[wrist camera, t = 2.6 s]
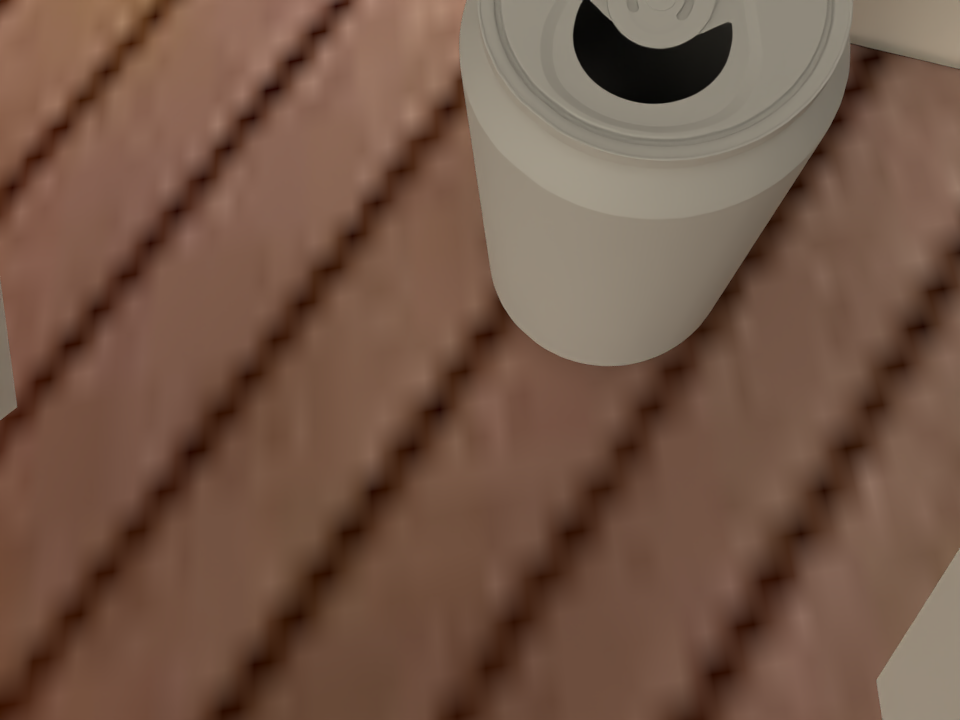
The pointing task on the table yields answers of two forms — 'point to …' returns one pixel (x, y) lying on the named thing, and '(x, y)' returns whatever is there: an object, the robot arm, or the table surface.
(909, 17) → the light grey piece
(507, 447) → the table surface
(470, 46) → the beverage can
